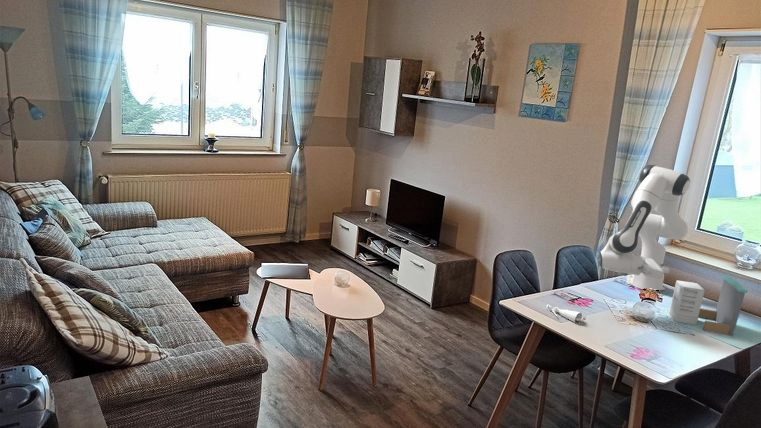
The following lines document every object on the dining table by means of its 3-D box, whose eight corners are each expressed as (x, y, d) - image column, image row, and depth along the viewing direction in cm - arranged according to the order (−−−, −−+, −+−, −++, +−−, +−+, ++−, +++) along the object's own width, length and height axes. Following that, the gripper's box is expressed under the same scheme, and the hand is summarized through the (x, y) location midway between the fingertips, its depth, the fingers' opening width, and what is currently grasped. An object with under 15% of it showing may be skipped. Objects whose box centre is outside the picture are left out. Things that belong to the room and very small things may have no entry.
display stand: (691, 314, 252) (702, 271, 247) (719, 319, 250) (730, 276, 245) (704, 330, 234) (716, 285, 229) (734, 336, 232) (747, 290, 227)
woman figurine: (578, 317, 223) (539, 304, 236) (576, 327, 224) (538, 314, 237) (591, 311, 231) (553, 299, 244) (590, 321, 232) (552, 308, 245)
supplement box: (696, 325, 239) (705, 290, 235) (674, 321, 241) (683, 286, 237) (689, 317, 249) (697, 282, 245) (667, 313, 250) (676, 279, 246)
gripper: (642, 265, 234) (676, 270, 231) (633, 252, 254) (664, 257, 251) (639, 278, 236) (673, 284, 233) (630, 265, 255) (661, 270, 252)
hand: (668, 270), depth 242 cm, fingers closed
